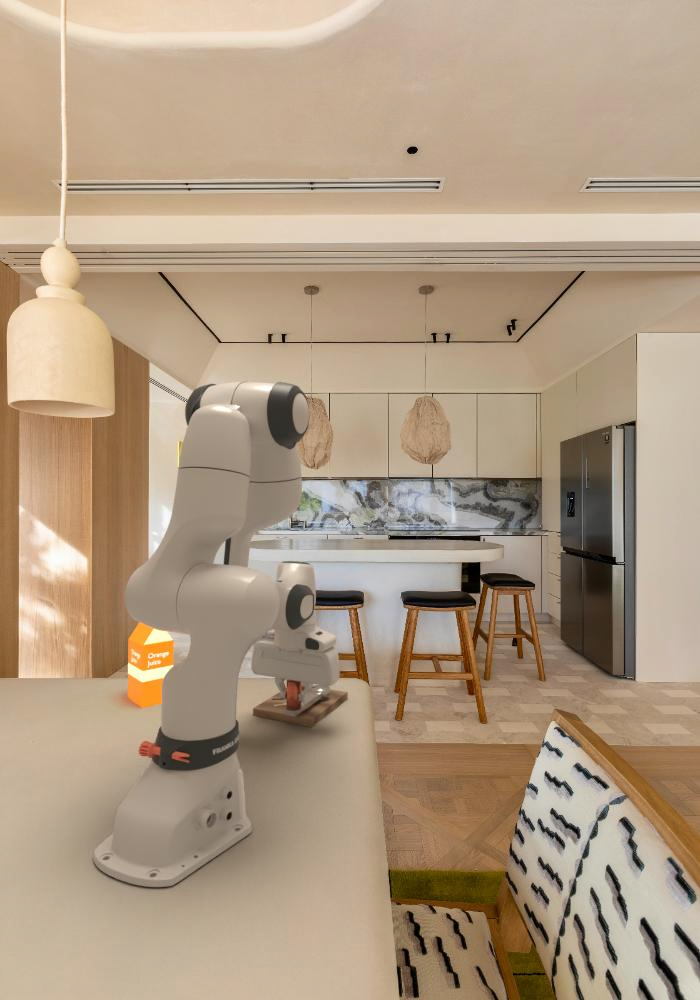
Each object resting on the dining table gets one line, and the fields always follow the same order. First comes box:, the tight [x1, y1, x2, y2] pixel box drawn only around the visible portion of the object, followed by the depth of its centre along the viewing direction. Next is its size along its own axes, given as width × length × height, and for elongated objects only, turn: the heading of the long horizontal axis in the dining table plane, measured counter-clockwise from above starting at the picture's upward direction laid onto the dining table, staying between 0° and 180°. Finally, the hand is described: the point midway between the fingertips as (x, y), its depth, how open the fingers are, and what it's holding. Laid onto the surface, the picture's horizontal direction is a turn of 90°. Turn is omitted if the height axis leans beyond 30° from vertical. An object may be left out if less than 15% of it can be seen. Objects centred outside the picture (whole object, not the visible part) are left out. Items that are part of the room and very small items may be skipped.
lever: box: [285, 679, 331, 717], centre depth 127 cm, size 17×5×8 cm, turn 157°
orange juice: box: [127, 622, 175, 709], centre depth 135 cm, size 8×9×20 cm
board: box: [252, 687, 349, 728], centre depth 132 cm, size 19×15×6 cm
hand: (293, 699), depth 121 cm, fingers closed on lever, 3 cm apart
